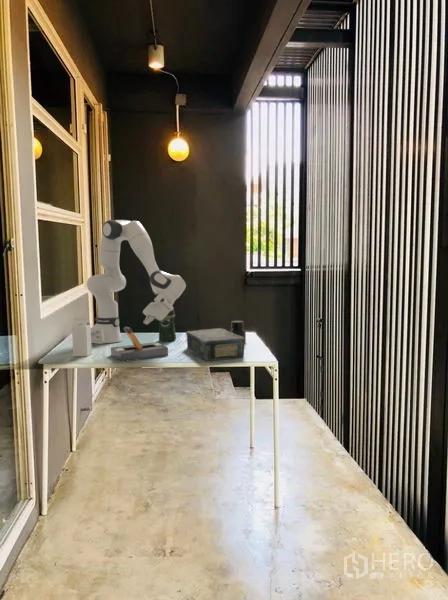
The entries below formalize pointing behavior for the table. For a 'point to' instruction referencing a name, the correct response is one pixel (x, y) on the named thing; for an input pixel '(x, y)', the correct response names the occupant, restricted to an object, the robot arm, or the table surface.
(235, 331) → the ink bottle
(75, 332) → the milk carton
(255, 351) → the table surface
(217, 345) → the metal box
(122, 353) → the breaker box
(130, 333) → the lever
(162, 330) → the coffee jar
